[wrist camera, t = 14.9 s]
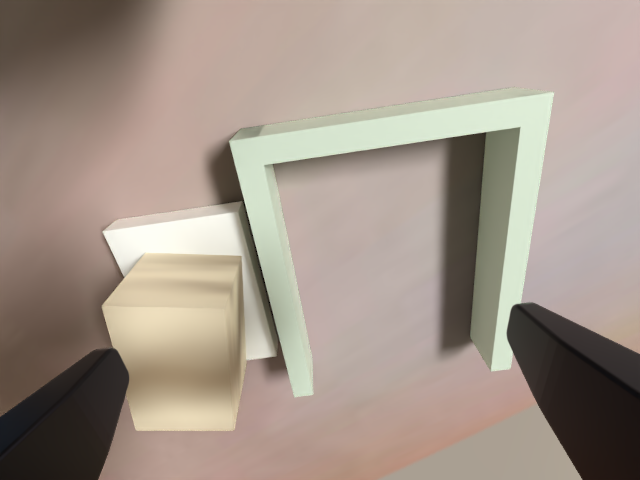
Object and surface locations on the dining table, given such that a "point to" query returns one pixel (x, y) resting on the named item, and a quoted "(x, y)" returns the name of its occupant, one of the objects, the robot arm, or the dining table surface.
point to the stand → (208, 239)
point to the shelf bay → (396, 129)
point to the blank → (181, 340)
